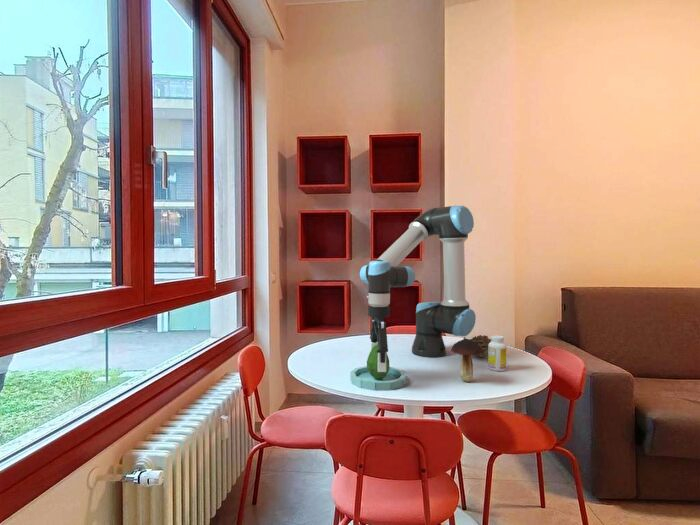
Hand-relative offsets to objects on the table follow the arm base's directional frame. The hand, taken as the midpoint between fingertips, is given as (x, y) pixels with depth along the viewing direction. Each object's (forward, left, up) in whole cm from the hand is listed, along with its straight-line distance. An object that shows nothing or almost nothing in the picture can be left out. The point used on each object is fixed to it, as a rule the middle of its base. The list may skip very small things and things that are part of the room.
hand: (378, 365), depth 135 cm
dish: (0, 0, -5) cm, 5 cm away
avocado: (0, 0, -5) cm, 5 cm away
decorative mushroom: (-31, +3, -5) cm, 32 cm away
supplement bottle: (-49, -10, -5) cm, 50 cm away
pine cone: (-50, -31, -5) cm, 59 cm away
